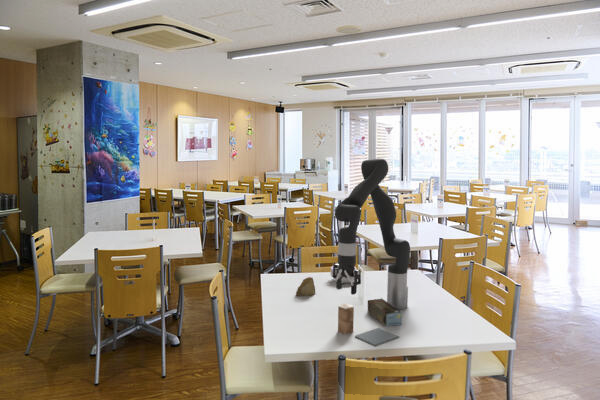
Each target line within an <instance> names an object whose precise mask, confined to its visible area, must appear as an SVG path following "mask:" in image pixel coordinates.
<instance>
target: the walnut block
mask: <svg viewBox="0 0 600 400" xmlns="http://www.w3.org/2000/svg"><path fill="white" fill-rule="evenodd" d="M337 307H338V310H337V312H338V313H337V314H338V316H337V332H338V333H342V334H343V335H348V334H351V333H354V320H355V319H354V316H355V315H354V312H355V311H354V309H355V307H354V306H353V305H351V304H349V303H343V304H340V305H338V306H337Z"/></svg>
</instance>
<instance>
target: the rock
mask: <svg viewBox="0 0 600 400" xmlns="http://www.w3.org/2000/svg"><path fill="white" fill-rule="evenodd" d="M315 295H316V286H315V280H314V279H313V277H310V276H309V277H308V276H307V277H306V278H304V279H302V282H301V283H300V285H299V286H298V287H297V290H296V292H295V296H297V297H304V296H306V297H307V296H315Z"/></svg>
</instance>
